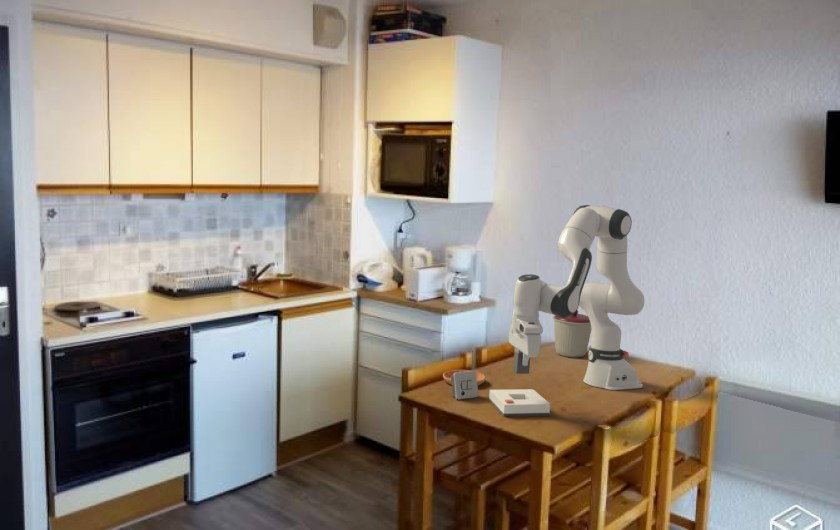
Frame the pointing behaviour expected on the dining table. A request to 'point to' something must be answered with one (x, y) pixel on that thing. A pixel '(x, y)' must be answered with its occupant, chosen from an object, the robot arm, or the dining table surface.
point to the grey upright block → (517, 366)
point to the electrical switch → (464, 385)
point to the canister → (572, 335)
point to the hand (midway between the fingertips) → (521, 363)
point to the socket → (519, 402)
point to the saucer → (448, 374)
